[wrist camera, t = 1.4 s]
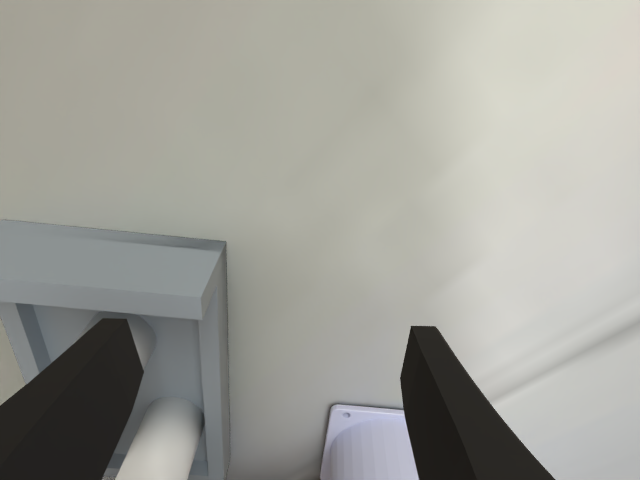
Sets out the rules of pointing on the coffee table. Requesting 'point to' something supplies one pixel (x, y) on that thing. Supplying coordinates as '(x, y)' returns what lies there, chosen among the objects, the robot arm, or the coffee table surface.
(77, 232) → the tray
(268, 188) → the coffee table surface
